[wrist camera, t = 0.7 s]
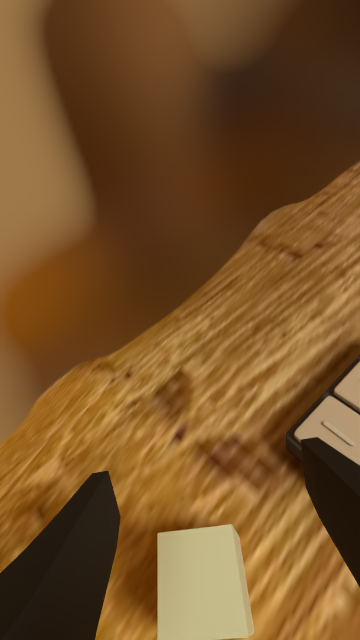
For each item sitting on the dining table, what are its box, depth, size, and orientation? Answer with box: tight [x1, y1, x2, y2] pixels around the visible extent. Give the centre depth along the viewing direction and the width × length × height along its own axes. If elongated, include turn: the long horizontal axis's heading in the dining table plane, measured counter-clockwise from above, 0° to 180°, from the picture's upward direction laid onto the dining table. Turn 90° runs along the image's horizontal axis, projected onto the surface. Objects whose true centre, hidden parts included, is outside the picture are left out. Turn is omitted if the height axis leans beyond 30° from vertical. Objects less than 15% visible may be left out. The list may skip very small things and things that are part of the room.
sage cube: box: [157, 524, 254, 640], centre depth 19 cm, size 5×5×5 cm
